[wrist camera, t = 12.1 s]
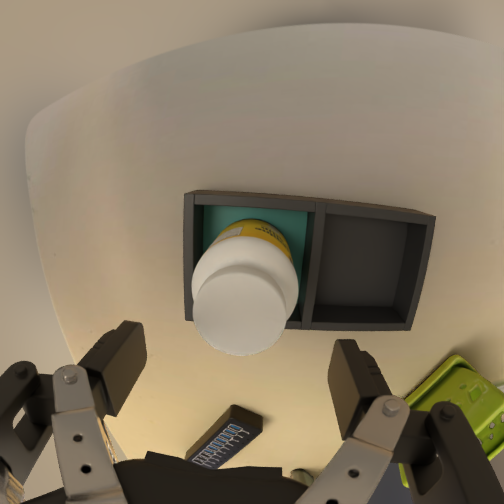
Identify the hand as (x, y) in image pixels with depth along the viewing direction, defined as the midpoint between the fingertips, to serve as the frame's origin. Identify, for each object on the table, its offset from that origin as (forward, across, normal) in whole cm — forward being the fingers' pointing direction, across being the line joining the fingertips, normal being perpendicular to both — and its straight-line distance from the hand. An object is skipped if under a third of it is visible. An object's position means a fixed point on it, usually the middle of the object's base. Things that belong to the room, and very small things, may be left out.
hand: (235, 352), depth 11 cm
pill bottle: (+15, 0, 0) cm, 15 cm away
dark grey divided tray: (+15, -5, 0) cm, 16 cm away
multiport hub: (+15, +3, +26) cm, 30 cm away
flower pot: (+15, -26, +18) cm, 35 cm away
